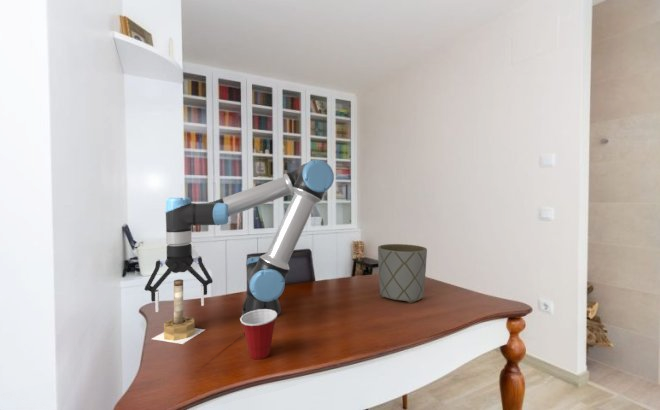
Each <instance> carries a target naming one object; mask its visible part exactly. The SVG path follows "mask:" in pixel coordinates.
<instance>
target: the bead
mask: <svg viewBox="0 0 660 410" xmlns="http://www.w3.org/2000/svg"><path fill="white" fill-rule="evenodd" d="M195 324H196V323H195V319H194V317H190V316H183V324H179V325H175V324H174V317H173V318H171V319H168V320H167V321H165V322H163V332H164V339H166V340H172V341H175V340H180V339H186V338H188V337H190V336H191V335H193V334H195V328H196V326H195Z"/></svg>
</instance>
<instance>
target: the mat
mask: <svg viewBox="0 0 660 410" xmlns="http://www.w3.org/2000/svg"><path fill="white" fill-rule="evenodd" d="M203 332H205V329H202V328H196V327H195V334H193V335H191V336H190V337H188V338H186V339H180V340H175V341H172V340H166V339H164V331H163V332H162V333H160V334H157V335H155V336H154V337H152V338H151V340H154V341H163V342H168V343H174V344H181V345H184V344H185V343H187V342H188V341H190V340H192V339H193V338H194V337H196V336H198V335H199V334H201V333H203Z"/></svg>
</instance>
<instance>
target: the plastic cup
mask: <svg viewBox="0 0 660 410" xmlns="http://www.w3.org/2000/svg"><path fill="white" fill-rule="evenodd" d="M277 317H278V316H277V313H276V311H274V310H271V309H258V310H254V311H250V312H248V313H245V314H244V315H243V316H242V315H241V317H239V320H240V323H241V325H242V326H243V330H244V334H245V341H246V345H247V350H248V354H249V357H250V359H252V360H262V359H265V358H268V356H269V355H270V352H271V347H272V346H271V345H272V341H273V335H274V328H275V324H276V323H275V322H276V319H277Z"/></svg>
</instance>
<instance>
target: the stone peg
mask: <svg viewBox="0 0 660 410" xmlns="http://www.w3.org/2000/svg"><path fill="white" fill-rule="evenodd" d="M183 317H184V279H175V280H173V318H174V324H175V325H179V324H183Z"/></svg>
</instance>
